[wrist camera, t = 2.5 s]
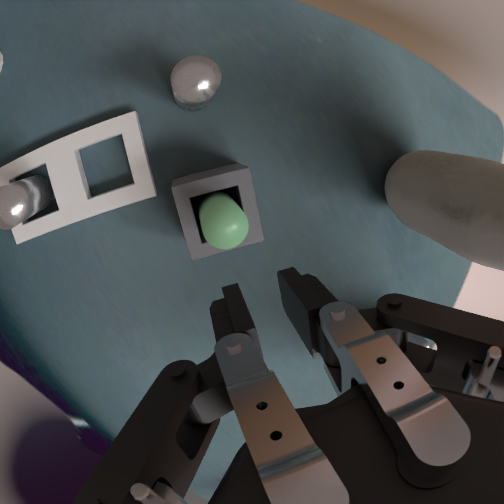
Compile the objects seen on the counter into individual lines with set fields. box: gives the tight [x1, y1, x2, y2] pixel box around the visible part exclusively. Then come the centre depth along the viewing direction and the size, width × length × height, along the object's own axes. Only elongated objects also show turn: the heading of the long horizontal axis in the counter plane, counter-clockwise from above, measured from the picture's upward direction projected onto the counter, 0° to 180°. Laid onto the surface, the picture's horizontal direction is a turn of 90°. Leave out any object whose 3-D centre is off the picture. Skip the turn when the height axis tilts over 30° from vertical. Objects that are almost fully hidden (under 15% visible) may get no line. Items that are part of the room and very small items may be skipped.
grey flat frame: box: [0, 111, 157, 244], centre depth 28 cm, size 18×9×2 cm, turn 101°
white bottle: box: [384, 150, 504, 271], centre depth 24 cm, size 10×10×28 cm
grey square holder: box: [171, 163, 264, 260], centre depth 30 cm, size 7×7×6 cm
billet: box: [171, 55, 221, 111], centre depth 25 cm, size 4×4×8 cm
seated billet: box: [0, 175, 53, 230], centre depth 24 cm, size 4×4×8 cm
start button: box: [198, 191, 249, 249], centre depth 26 cm, size 4×4×6 cm
